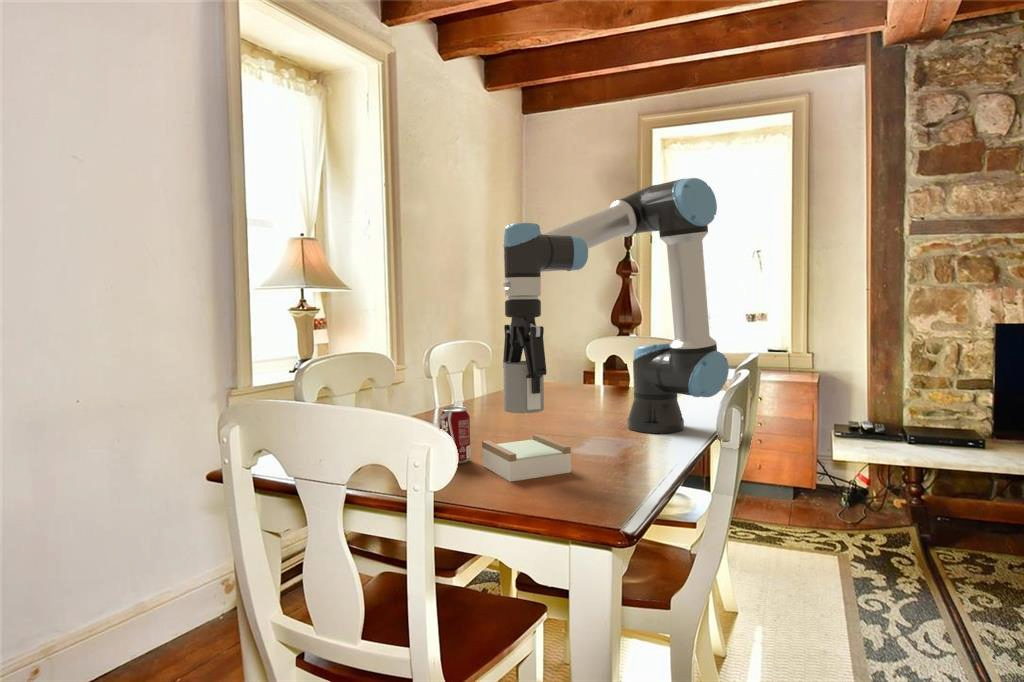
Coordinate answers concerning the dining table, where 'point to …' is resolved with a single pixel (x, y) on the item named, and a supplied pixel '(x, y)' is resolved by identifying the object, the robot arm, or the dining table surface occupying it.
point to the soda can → (457, 429)
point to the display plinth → (527, 458)
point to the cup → (518, 388)
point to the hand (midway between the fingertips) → (524, 405)
